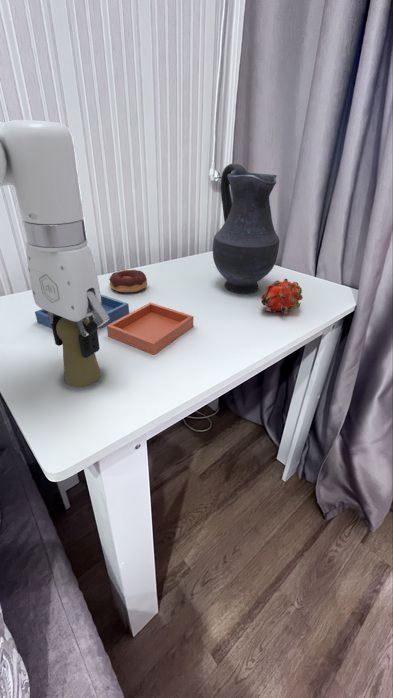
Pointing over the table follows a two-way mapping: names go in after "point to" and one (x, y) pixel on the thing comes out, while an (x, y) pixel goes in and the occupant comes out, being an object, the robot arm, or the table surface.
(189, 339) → the table surface
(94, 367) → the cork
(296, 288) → the dragon fruit
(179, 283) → the table surface
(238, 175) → the pitcher
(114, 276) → the donut
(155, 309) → the terracotta tray
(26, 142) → the robot arm
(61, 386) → the table surface
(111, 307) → the blue tray
